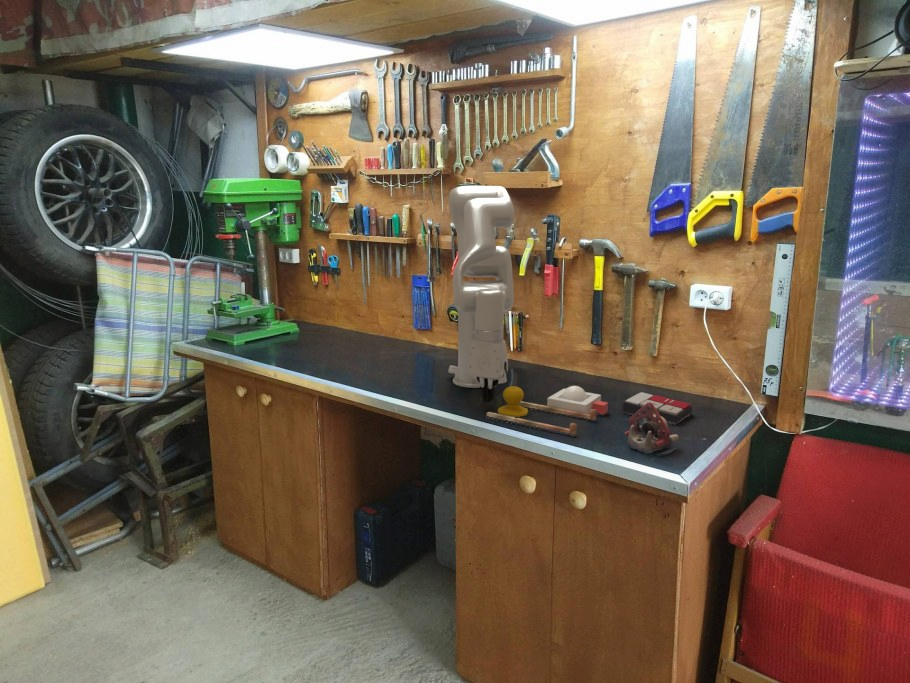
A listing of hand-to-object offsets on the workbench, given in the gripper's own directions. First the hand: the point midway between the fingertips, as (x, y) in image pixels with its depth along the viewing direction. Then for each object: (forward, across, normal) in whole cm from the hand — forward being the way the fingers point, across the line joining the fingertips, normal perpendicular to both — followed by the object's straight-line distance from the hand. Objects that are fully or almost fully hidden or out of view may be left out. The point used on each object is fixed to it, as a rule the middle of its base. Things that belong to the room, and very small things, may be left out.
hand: (488, 400), depth 183 cm
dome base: (+2, +21, +13) cm, 25 cm away
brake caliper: (+3, +45, -3) cm, 45 cm away
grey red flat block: (+3, +40, +22) cm, 45 cm away
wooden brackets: (+2, +16, 0) cm, 16 cm away
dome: (+2, +19, +13) cm, 24 cm away
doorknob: (+3, +8, 0) cm, 8 cm away
